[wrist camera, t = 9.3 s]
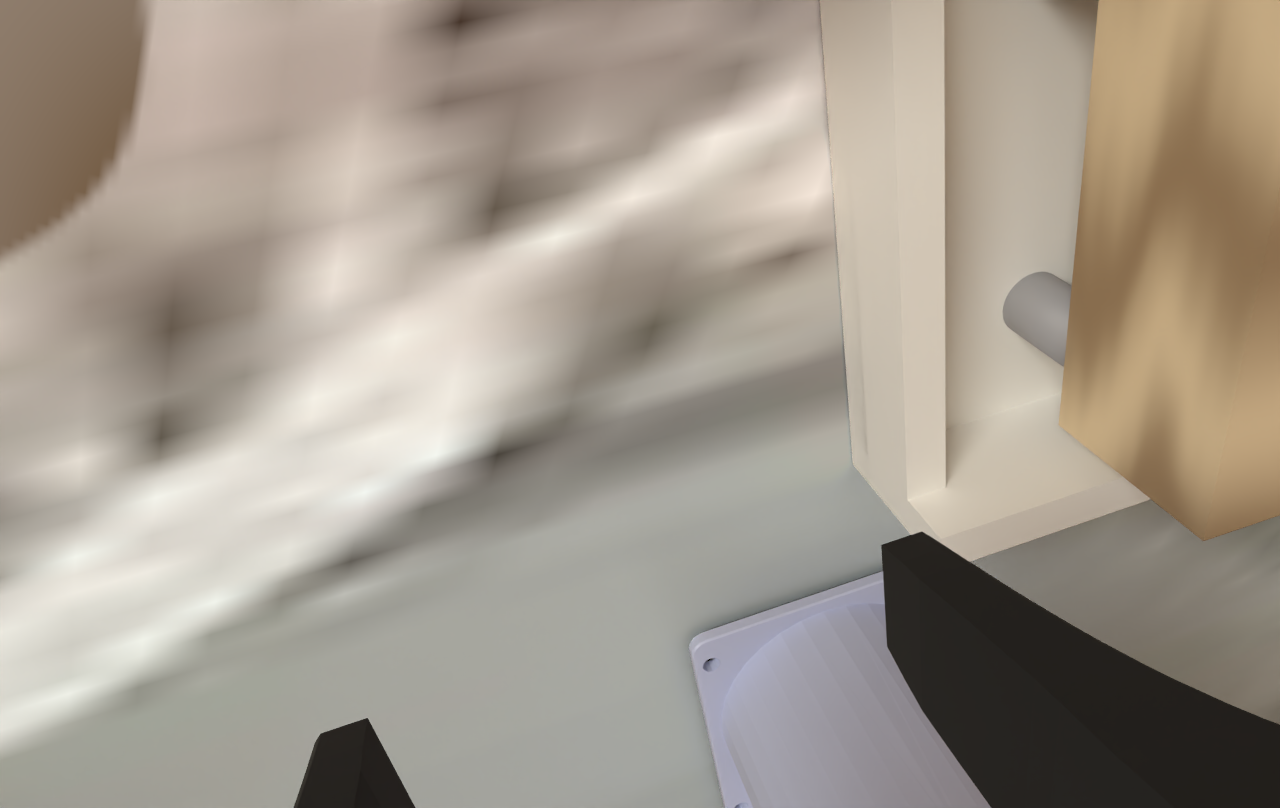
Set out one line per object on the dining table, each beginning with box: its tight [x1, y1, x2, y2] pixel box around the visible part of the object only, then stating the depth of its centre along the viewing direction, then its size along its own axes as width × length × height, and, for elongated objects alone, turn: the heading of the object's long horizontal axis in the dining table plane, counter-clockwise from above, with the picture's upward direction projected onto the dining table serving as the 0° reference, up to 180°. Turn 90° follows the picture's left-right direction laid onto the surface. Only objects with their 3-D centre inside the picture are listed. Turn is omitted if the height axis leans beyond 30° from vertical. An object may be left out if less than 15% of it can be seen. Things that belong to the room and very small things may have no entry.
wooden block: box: [1059, 0, 1280, 541], centre depth 17 cm, size 12×4×4 cm, turn 10°
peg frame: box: [819, 0, 1150, 562], centre depth 19 cm, size 16×11×4 cm
